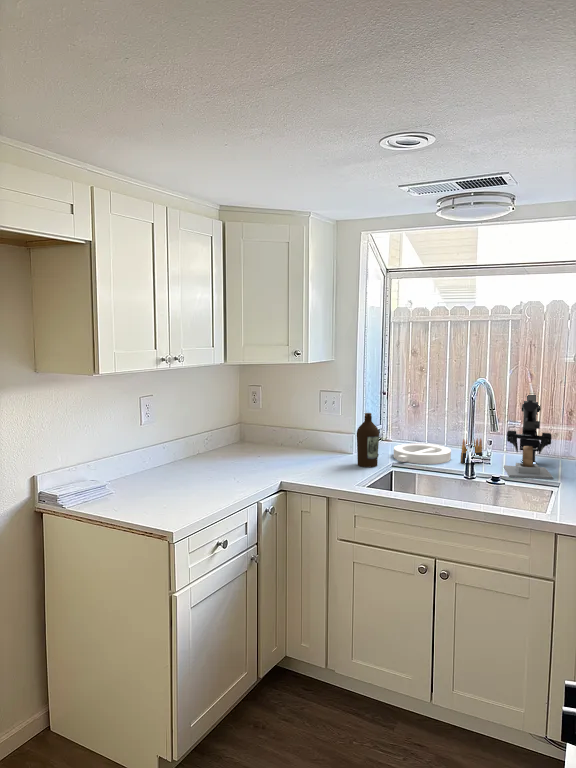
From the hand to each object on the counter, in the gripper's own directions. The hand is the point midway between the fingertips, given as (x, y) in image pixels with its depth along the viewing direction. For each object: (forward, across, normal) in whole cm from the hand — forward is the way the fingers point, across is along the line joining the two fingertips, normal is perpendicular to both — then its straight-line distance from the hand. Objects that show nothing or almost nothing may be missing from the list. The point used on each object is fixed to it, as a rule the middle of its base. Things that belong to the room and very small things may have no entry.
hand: (528, 452), depth 267 cm
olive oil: (+16, -71, -2) cm, 72 cm away
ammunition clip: (-2, -25, +16) cm, 30 cm away
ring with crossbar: (-3, -50, +17) cm, 53 cm away
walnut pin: (+5, 0, +6) cm, 8 cm away
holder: (+6, 0, +7) cm, 9 cm away
